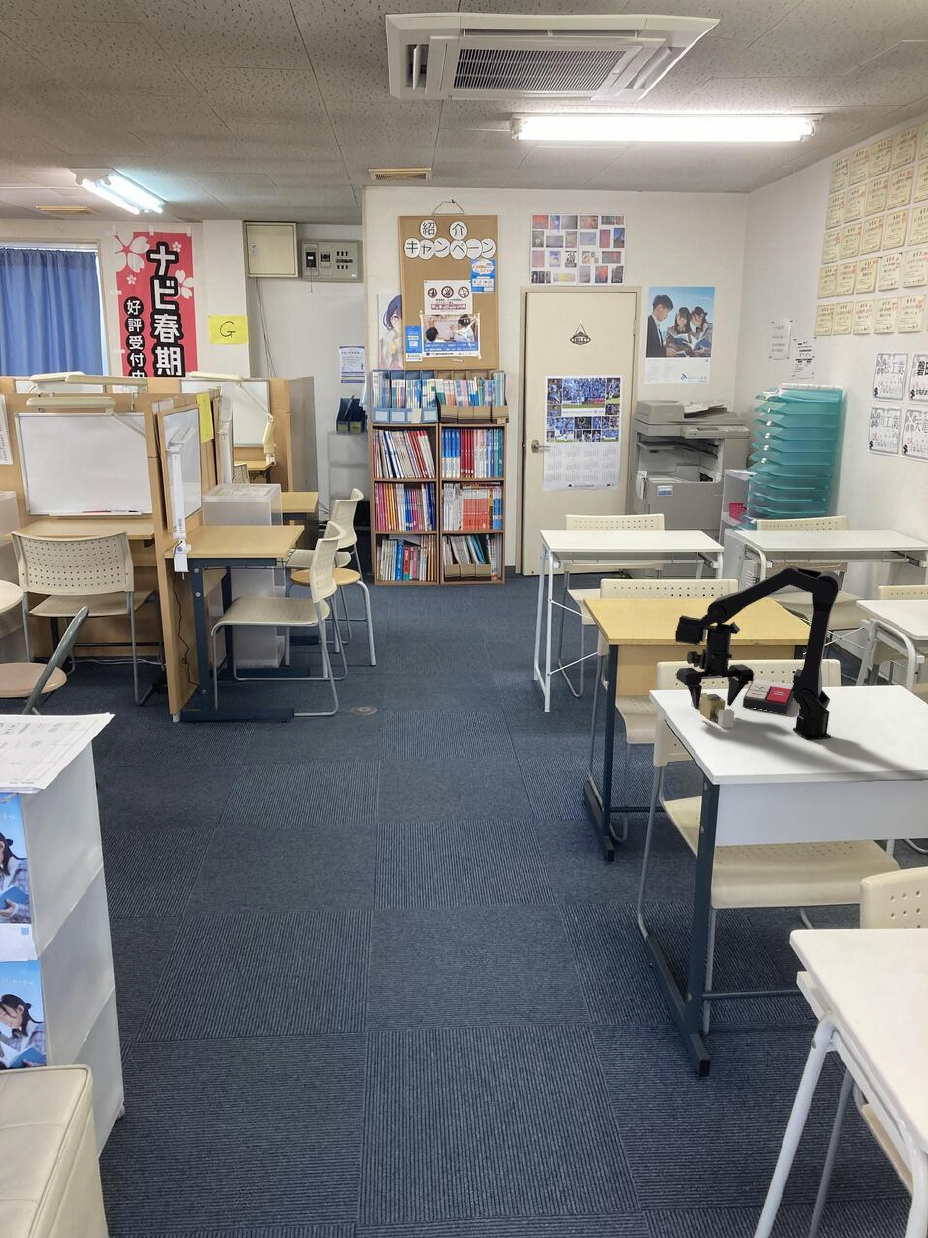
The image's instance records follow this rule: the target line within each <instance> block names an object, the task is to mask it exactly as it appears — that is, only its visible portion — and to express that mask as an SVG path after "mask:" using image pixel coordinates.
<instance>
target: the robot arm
mask: <svg viewBox="0 0 928 1238" xmlns="http://www.w3.org/2000/svg"><path fill="white" fill-rule="evenodd" d="M842 585H843V580H842V578H841V576H840V575H839V574H838V573H837V572H834V571H831V570H826V571H823V572H822V571H818V570H815V569H809V568H804V567H803V568H801V567H797V566H795V565H787V566H785V567H784V568H783V569H782V570H780V571H778V572H776V573H773V574H771V575H770V576H768V577H766V578H764V579H761V580H760V581H758V582H757V583H755V584H752V585H750V586H748V587H747V588H745V589H743V590H741V591H737V592H731V593H729V594H725V595H722V596H720V597H718V598H716V599H715V600H714V601H712V602H711V603H710V604H709V605H708V606H707V610H706V611H707V612H706V614H704V615H703V616H702V617H701V618H698V617H690V616H687V615H681V616H680V617H679V618H678V622H677V626H676V630H675V632H674V633H675V634H674V636H675V638H674V639H675V642H676V643H681V644H688V645H695V646H700V644H701V642H702V643H704V642H705V643H706V645H705V648H703V649H702V652H701V654H698V652H697V650H693V651H687V656H686V660H687V661H686V662H687V664H688V665H693V667H684V668H683V667H682V668H679V669H678V670H677V672H676V675H675V676H676V680H678V681H680V682H681V683H682V684H684V685H685V686H687V689H688V691H689V694H690V697H691V702H692V701H693V704H694V707H695V708H694V707H693V708H694V709H697V710H698V706H699V701H700V695H701V691H702V685H701V683H702V680H709V679H723V678H727V681H728V687H727V688H728V689H727V697H726V698H727V699H726V704H727V706H728V707H731V706H732V705H733V703H734V702H735V700H736V698H737V696H738V695H739V694H740V692H742V690H743V689H744V688H745V686H747V685H749V683H750V682H752V681H753V680H754V679H755V672H754V670H753V669H752V668H751V667H748V666H747V665H745V664H743V663H742V664H731V665H729V659H733V654H732V653H730V652H731V651H730V650H731V639H732V634H734V635H737V634H738V633H739V632H740V631H741V627H739V626H738V625H737V624H736V623H735V622H734V621H732V622H731V623H730V624H729V623H728V624H727V622H728V621H730V620H731V619H732V618H734V617H735V616H736V615H737V614H739V613H740V612H741V611H742V610H744V609H745V608H746V607H747V606H750V605H752V604H753V603H756V602H757V601H760V600H761V599H763V598H765V597H767V596H769V595H772V594H773V593H776V592H778V591H780V590H782V589H783V588H785V587H788V586H791V587H795V588H797V589H800V590H802V591H805V592H808V593H811V596H812V597H811V599H812V600H811V601H812V616H811V617H812V618H811V625H810V628H809V635H808V640H807V646H806V652H805V656H804V663H803V667H802V669H800V668H797V669H796V671H795V672H794V674H793V677H792V679H793V682H792V683H793V684H792V685H793V687H792V689H791V692H792V691H794V692H793V700H794V701H795V702H796V704H798V705H799V709H798V714H797V715H796V720H795V721H796V722H795V727H793V728H792V731H794V732H795V733H796V734H798V735H800V736H801V737H802V738H804V739H806V740H820V739H830V738H831V737H832V736H831V734H829V733H828V727H829V718H830V711H829V710H828V709H827V708H828V707H829V704H830V701H831V698H830V697H829V696H828V695H827V694H826V692H825V691H824V690H823V674H822V673H823V672H822V663H823V656H824V651H825V647H826V642H827V641H826V640H827V635H828V629H829V624H830V621H831V620H830V619H831V615H832V614H831V613H832V611H833V609H834V606H835V603H836V600H837V598H838V596H839V594H840V592H841V589H842ZM714 624H716V625H714ZM698 667H699V668H698ZM695 668H698V669H700V670H703V671H699V670H697V669H695Z"/></svg>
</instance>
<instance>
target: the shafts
mask: <svg viewBox="0 0 928 1238" xmlns="http://www.w3.org/2000/svg"><path fill="white" fill-rule="evenodd" d="M699 704H700V705H699V706H698V708H697V710H698V709H699V710H698V711H700V706H701V696H700V701H699ZM719 710H723V709H721V708H719V709H717V710H716V711H715V715H716V716H717V717H719ZM718 719H719V718H716V720H715V723H716V724H718Z"/></svg>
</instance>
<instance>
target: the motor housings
mask: <svg viewBox="0 0 928 1238" xmlns="http://www.w3.org/2000/svg"><path fill="white" fill-rule="evenodd" d="M707 694H708V693H707V692H706V691H704V690H702V689H701V695H707ZM701 695H700V696H701ZM699 705H700V704H699ZM691 707H693V709H696V708H695V707H694V704H693V701H692V700H691ZM734 721H735V711H734V710H732V709H731V708H727V709H725V710H719V719H718V723H717V726H718V727H720V728H721V729H728V728H734Z"/></svg>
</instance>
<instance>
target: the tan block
mask: <svg viewBox="0 0 928 1238" xmlns="http://www.w3.org/2000/svg"><path fill="white" fill-rule="evenodd" d="M719 708H721V709H723V710H725V708H726V700H725V699H723V698H722V697H721V696H719V694H716V693H709V694H708V693H707V695H701V706H700V710H699V714H700V715H702V716H703V718H706V719H707V720H708V721H716V718H719V717H717V716H716V715H715V711H716V710H717V709H719Z"/></svg>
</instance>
